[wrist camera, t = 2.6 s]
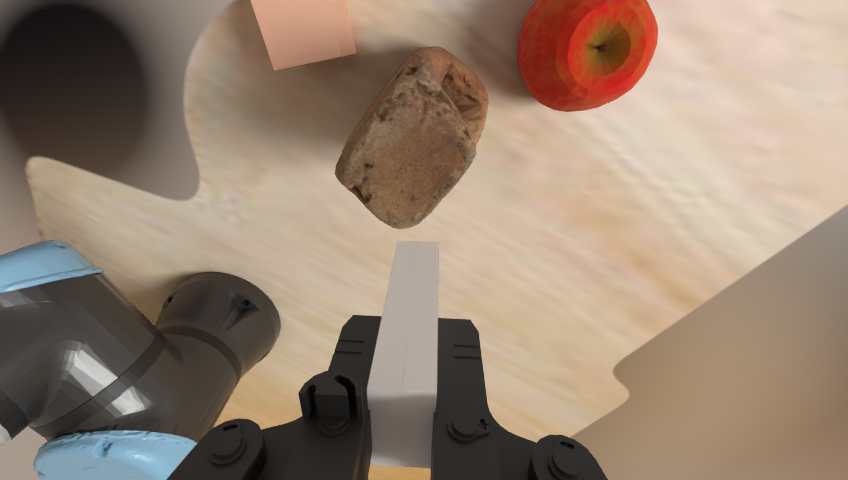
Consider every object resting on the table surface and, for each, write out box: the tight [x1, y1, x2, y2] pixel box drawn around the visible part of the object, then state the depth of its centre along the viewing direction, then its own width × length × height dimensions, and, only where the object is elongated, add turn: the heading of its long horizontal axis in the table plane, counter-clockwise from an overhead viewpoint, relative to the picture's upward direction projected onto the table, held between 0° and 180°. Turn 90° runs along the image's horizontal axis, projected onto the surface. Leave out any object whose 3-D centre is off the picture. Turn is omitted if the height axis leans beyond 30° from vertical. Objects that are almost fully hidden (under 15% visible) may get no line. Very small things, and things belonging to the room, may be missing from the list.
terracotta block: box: [250, 0, 357, 71], centre depth 34 cm, size 6×6×7 cm
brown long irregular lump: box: [335, 47, 488, 229], centre depth 31 cm, size 11×8×20 cm
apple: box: [517, 0, 658, 112], centre depth 32 cm, size 11×11×11 cm
